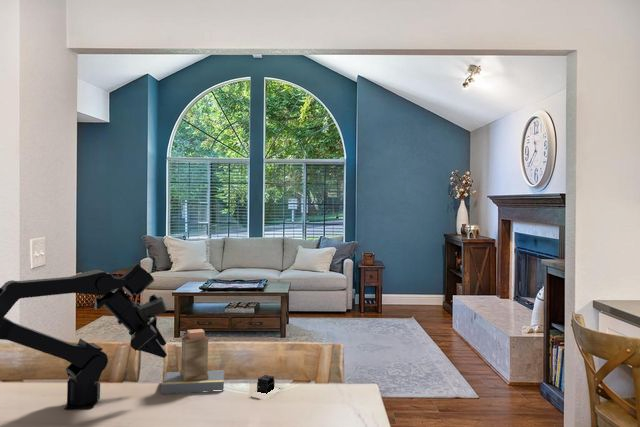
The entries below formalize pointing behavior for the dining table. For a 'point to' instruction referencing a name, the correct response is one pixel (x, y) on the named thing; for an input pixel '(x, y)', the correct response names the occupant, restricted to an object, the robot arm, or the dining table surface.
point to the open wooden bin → (194, 359)
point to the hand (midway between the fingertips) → (165, 350)
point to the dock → (192, 383)
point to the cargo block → (195, 334)
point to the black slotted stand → (265, 384)
